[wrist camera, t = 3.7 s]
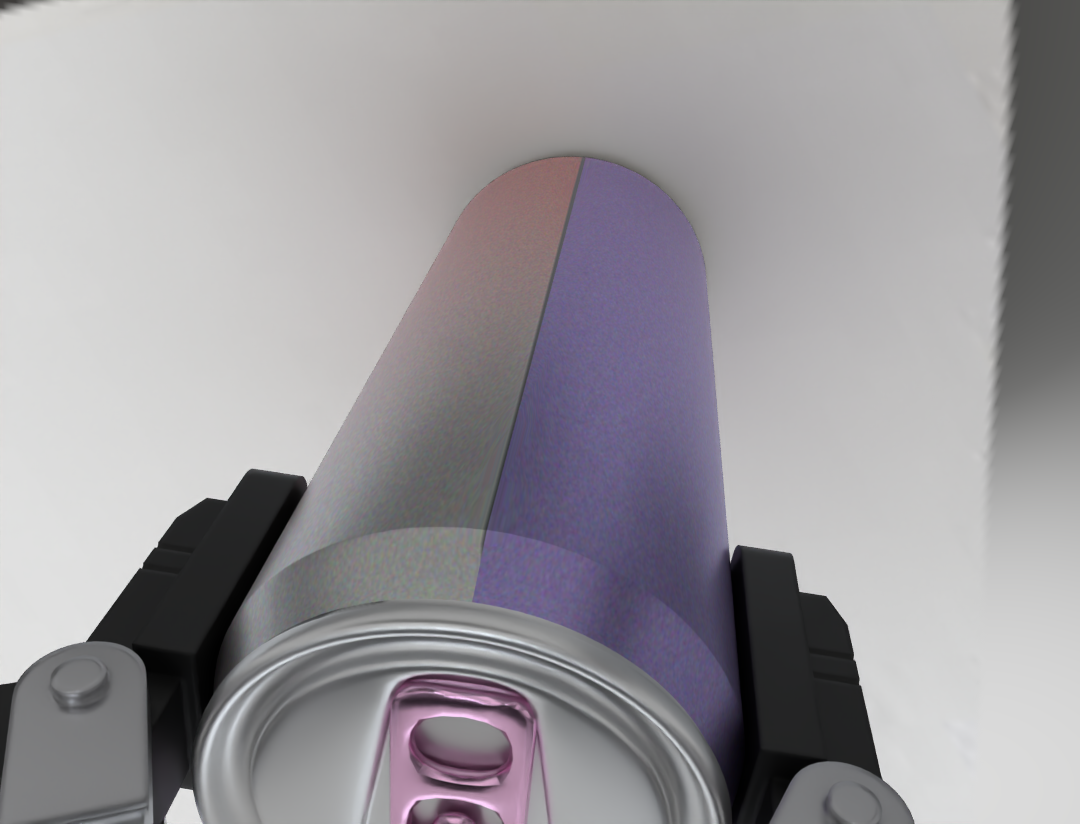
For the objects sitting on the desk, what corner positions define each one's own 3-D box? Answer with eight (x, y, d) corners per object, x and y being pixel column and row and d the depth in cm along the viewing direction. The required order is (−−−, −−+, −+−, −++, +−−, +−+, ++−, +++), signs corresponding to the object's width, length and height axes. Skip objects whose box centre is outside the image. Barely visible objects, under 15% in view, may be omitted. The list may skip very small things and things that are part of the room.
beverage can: (726, 162, 21) (812, 658, 8) (684, 402, 24) (701, 1036, 11) (453, 133, 22) (132, 564, 9) (445, 373, 25) (198, 956, 12)
